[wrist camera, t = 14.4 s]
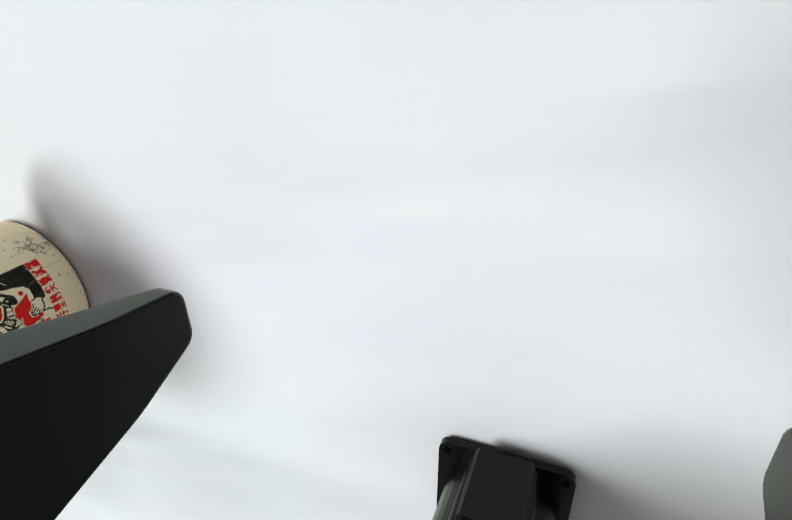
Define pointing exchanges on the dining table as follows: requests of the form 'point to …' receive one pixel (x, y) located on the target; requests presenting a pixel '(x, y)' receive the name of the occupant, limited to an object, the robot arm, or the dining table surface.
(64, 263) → the teacup with lid
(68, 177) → the dining table surface
